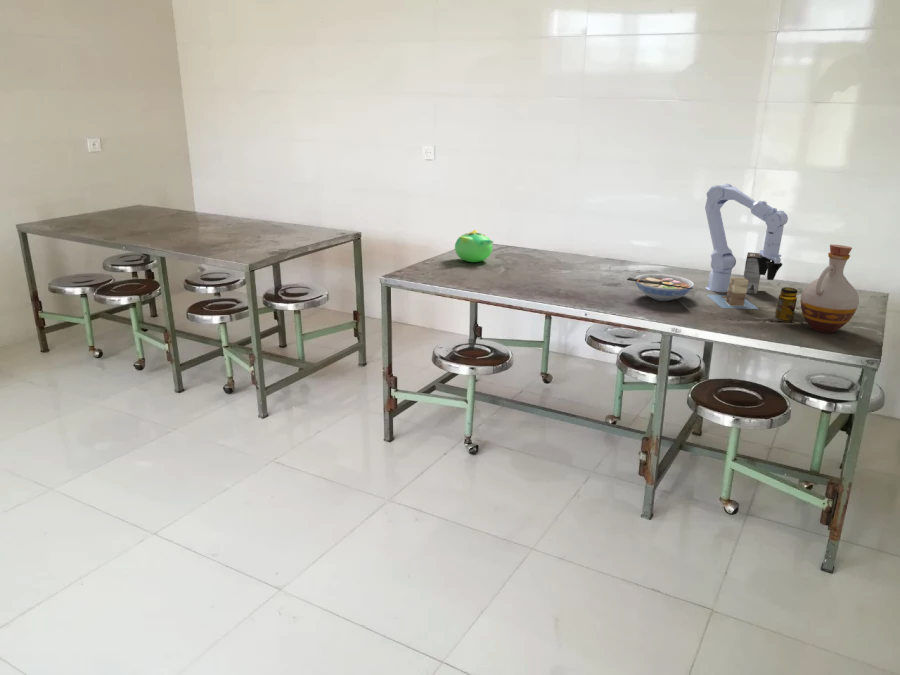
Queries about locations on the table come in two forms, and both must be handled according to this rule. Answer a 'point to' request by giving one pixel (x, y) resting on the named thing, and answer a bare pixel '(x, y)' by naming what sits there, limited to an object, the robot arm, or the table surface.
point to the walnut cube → (735, 298)
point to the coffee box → (752, 272)
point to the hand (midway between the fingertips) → (766, 277)
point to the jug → (830, 295)
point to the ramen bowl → (663, 286)
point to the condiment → (786, 305)
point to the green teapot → (473, 247)
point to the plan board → (723, 304)
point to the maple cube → (738, 285)
